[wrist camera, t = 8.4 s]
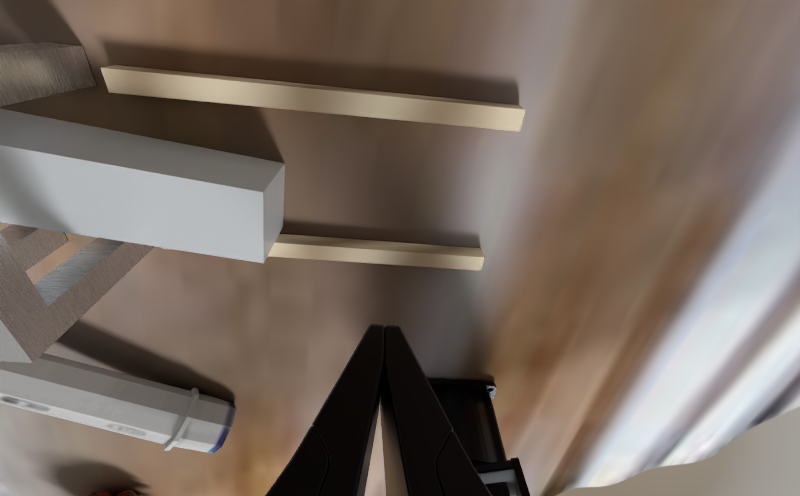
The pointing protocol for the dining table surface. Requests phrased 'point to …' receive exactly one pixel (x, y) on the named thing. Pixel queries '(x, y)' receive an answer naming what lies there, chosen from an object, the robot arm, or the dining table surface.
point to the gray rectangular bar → (137, 188)
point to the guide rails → (334, 103)
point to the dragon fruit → (124, 495)
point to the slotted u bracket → (25, 246)
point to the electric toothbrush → (117, 402)
